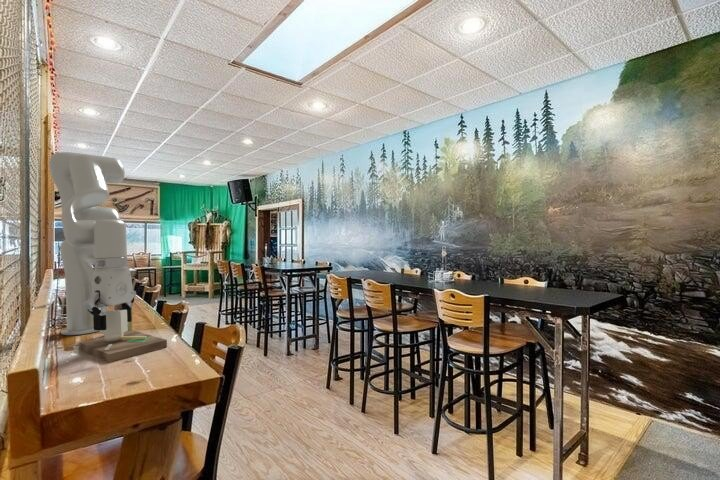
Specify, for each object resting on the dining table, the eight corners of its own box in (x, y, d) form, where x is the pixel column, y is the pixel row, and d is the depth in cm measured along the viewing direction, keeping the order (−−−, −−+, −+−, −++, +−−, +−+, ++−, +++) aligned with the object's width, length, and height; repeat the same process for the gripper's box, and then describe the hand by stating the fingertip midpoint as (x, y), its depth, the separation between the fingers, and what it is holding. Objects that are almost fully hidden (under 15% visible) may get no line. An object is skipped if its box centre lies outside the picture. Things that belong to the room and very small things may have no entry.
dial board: (79, 349, 100) (79, 341, 100) (134, 336, 112) (133, 329, 112) (109, 362, 89) (108, 353, 89) (166, 346, 100) (166, 339, 100)
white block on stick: (97, 341, 99) (95, 312, 99) (109, 337, 104) (108, 309, 103) (140, 341, 98) (139, 312, 98) (151, 336, 102) (150, 308, 102)
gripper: (98, 266, 92) (101, 334, 92) (145, 261, 109) (147, 318, 109) (71, 267, 93) (73, 334, 93) (122, 262, 110) (124, 318, 110)
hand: (113, 325), depth 101 cm, fingers open, 8 cm apart
